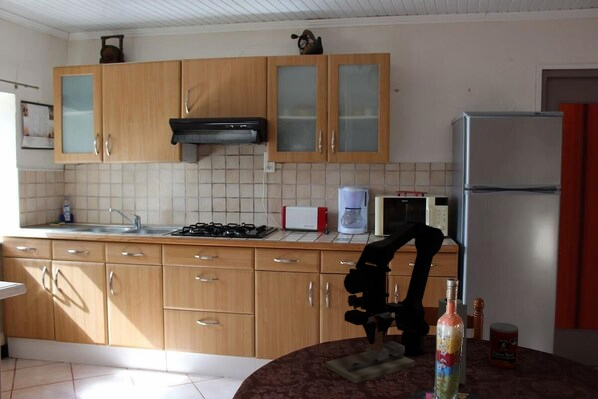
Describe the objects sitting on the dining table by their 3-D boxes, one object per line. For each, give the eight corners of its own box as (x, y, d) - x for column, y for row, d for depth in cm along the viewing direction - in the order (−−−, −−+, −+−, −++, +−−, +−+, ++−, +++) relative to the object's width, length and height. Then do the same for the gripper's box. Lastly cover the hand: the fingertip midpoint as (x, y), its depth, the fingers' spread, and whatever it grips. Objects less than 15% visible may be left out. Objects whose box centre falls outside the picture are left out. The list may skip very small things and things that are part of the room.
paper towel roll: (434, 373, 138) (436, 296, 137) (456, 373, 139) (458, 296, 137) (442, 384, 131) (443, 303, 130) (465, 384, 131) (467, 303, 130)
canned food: (488, 366, 144) (489, 328, 143) (489, 357, 151) (490, 321, 151) (517, 370, 141) (518, 332, 140) (516, 360, 148) (518, 324, 148)
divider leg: (376, 356, 146) (377, 328, 146) (388, 361, 142) (389, 332, 142) (366, 358, 144) (366, 330, 144) (378, 364, 140) (378, 335, 140)
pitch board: (383, 352, 155) (383, 335, 154) (414, 366, 144) (415, 348, 144) (325, 367, 143) (325, 349, 142) (355, 383, 132) (355, 364, 131)
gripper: (380, 279, 155) (380, 329, 156) (332, 287, 145) (332, 340, 145) (407, 286, 146) (406, 340, 146) (357, 295, 135) (357, 352, 136)
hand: (375, 342), depth 144 cm, fingers closed on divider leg, 3 cm apart
